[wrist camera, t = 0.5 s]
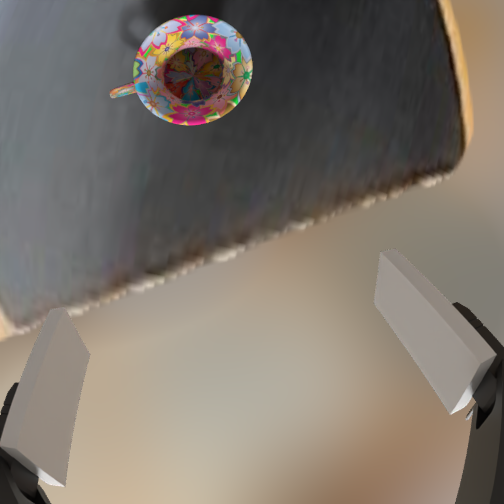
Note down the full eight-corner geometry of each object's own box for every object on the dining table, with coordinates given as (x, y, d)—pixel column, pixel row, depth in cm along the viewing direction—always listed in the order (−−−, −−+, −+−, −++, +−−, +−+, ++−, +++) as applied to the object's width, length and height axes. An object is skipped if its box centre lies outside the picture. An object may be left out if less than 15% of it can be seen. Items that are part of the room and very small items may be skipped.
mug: (227, 29, 29) (240, 5, 19) (243, 106, 33) (262, 111, 24) (119, 56, 28) (90, 43, 19) (137, 133, 32) (115, 148, 23)
